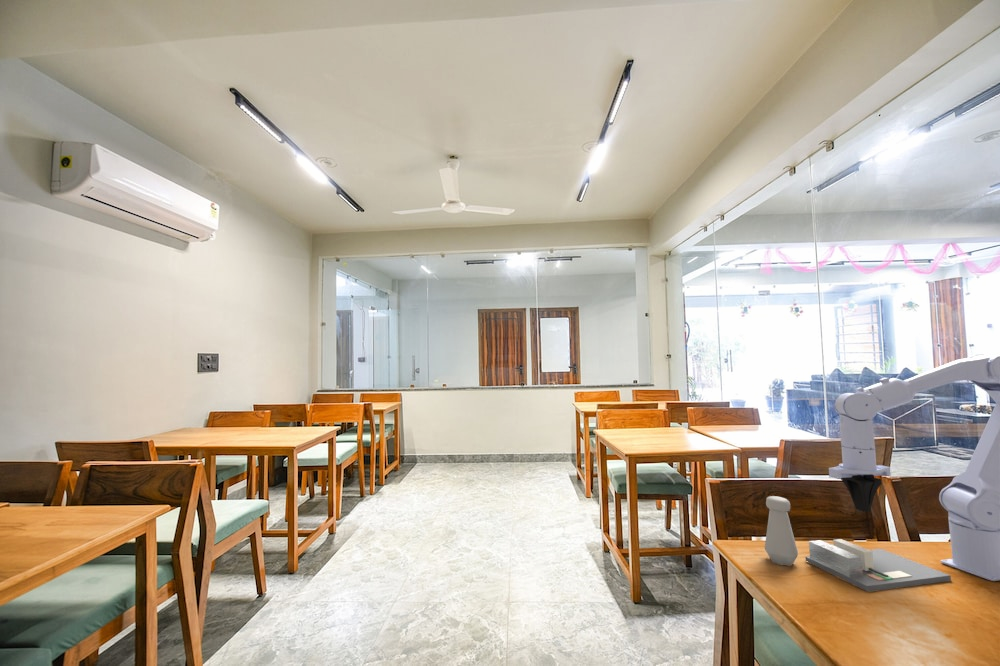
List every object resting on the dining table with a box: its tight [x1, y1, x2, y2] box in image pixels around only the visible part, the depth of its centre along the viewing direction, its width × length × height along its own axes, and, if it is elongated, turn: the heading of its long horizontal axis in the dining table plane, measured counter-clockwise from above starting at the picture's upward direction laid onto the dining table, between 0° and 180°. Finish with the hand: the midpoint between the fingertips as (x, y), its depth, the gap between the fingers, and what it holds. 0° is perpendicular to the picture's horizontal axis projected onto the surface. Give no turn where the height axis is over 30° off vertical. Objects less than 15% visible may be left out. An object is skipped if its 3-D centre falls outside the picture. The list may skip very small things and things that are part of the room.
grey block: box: [808, 539, 863, 578], centre depth 81 cm, size 3×8×4 cm, turn 12°
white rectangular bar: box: [832, 538, 888, 577], centre depth 80 cm, size 2×9×4 cm, turn 12°
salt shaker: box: [764, 495, 798, 567], centre depth 86 cm, size 6×6×13 cm
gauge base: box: [805, 548, 952, 593], centre depth 81 cm, size 20×12×1 cm, turn 102°
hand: (862, 510), depth 89 cm, fingers closed
